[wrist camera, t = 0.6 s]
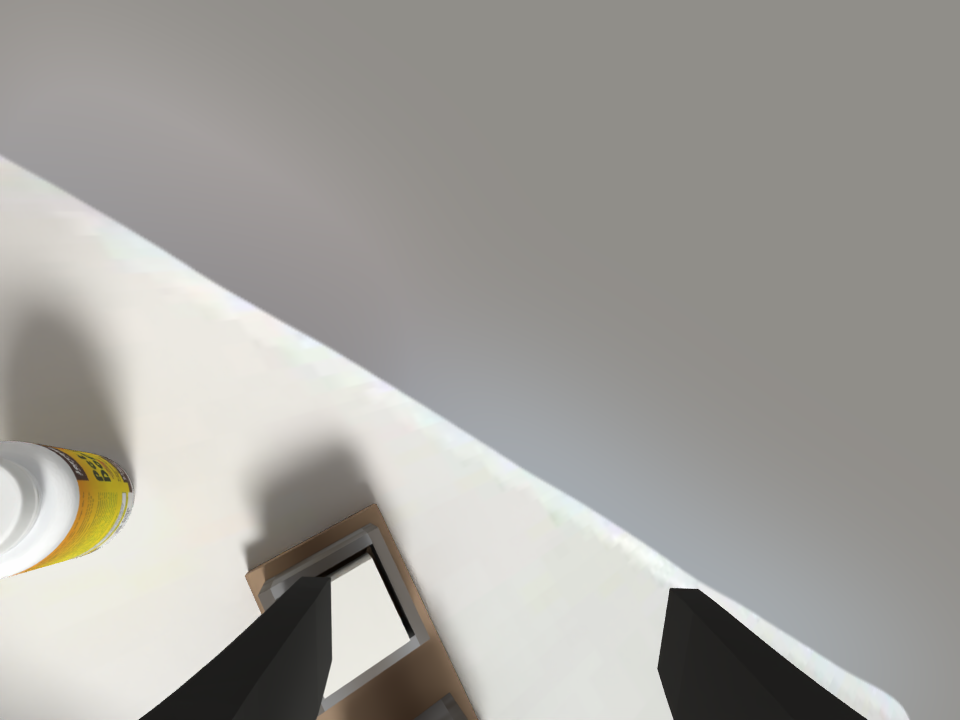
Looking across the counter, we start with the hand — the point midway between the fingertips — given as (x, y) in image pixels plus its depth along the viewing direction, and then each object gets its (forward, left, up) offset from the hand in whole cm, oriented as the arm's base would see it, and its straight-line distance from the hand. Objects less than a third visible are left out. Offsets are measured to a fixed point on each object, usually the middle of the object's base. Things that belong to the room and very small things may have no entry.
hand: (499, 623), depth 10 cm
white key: (-4, +1, -18) cm, 19 cm away
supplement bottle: (-2, +16, -23) cm, 28 cm away
